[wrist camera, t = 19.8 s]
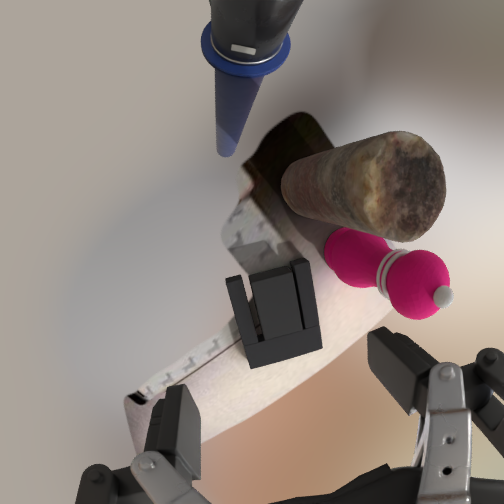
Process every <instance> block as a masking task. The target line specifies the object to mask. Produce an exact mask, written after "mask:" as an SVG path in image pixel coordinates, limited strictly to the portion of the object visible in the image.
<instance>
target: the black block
mask: <svg viewBox="0 0 504 504" xmlns="http://www.w3.org/2000/svg"><path fill="white" fill-rule="evenodd" d="M248 277H249V281H250V285H251V289H252V293H253V297H254V302H255V306H256V310H257V314H258V318H259V322H260V326H261V330H262V333H263V336H264V339H265V340H269V339H272V338H276V337H279V336H283V335H287V334H290V333H294V332H297V331H300V330H303V328H302V323H301V317H300V311H299V306H298V300H297V295H296V289H295V284H294V279H293V274H292V271H291V270H290V269H289V268H288V267H287V266H284V267H280V268H276V269H272V270H269V271H265V272H261V273H257V274H253V275H249V276H248Z"/></svg>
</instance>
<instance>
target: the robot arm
mask: <svg viewBox="0 0 504 504" xmlns="http://www.w3.org/2000/svg"><path fill="white" fill-rule="evenodd" d="M209 2H210V6H211V45H212V48H213V50H214V51H215V53H216V54H217V55H218V56H219V57H221V58H222V59H223V60H225V61H227V62H229V63H232V64H235V65H240V66H257V65H261V64H264V63H266V62H269V61H270V60H272V59H273V58H274V57H275V56H276V55H277V54H278V53H279V51H280V49H281V47H282V43H283V41H284V38H285V37H286V35H287V33H288V30H289V28H290V26H291V24H292V22H293V20H294V18H295V16H296V14H297V12H298V10H299V8H300V6H301V4H302V2H303V0H209ZM367 341H368V343H367V345H368V364H369V367H370V369H371V371H372V372H373V373H374V375H375V376H376V377H377V378H378V379H379V381H380V382H381V383H382V384H383V385H384V387H385V388H386V389H387V390H388V391H389V393H390V394H391V395H392V396H393V397H394V399H395V400H396V401H397V402H398V403H399V405H400V406H401V407H402V408H403V409H404V411H405V412H406V413H407V414H408V415H409V416H410V415H411V414H413V413H415V412H417V411H418V412H419V414H420V418H419V425H418V432H417V439H416V446H415V451H414V456H413V459H412V463H411V466H407V467H398V468H393V469H390V467H389V466H388V464H387V463H386V464H384V465H382V466H380V467H378V468H376V469H373V470H371V471H369V472H367V473H364V474H362V475H360V476H358V477H357V478H355V479H354V480H352V481H351V482H349V483H348V484H346V485H344V486H343V487H341V488H340V489H338V490H336V491H335V492H333V493H330V494H324V495H316V496H305V497H295V498H292V499H287V500H284V501H279V502H274V503H270V504H504V480H494V479H484V478H475V477H470V474H471V457H472V421H473V422H474V423H475V425H476V426H477V427H478V428H479V429H480V430H481V431H482V433H483V434H484V435H485V436H486V437H487V438H488V440H489V441H490V442H491V443H492V444H493V445H494V447H495V448H496V449H497V450H498V451H499V453H500V454H501V455H502V456H503V458H504V405H503V404H502V403H501V402H500V401H499V400H498V399H497V398H496V397H495V396H494V395H493V392H495V393H496V394H497V395H499V396H500V397H501V398H502V399H503V400H504V353H503V352H501V351H500V350H498V349H495V348H485V349H483V350H481V351H480V352H479V353H478V354H477V357H476V361H475V362H473V363H470V364H468V365H465V366H461V367H459V366H458V365H457V364H455V363H452V362H442V363H439V362H438V361H437V360H436V359H434V358H433V357H432V356H431V355H430V354H428V353H427V352H426V351H425V350H424V349H422V348H421V347H419V345H417V344H416V343H414V341H413V340H411V339H410V338H409V337H408V336H406V335H403V334H400V333H397V332H396V333H394V334H393V333H392V332H391V331H389V330H388V329H387V328H386V327H384V326H383V327H380V328H378V329H376V330H373V331H371V332H369V333H368V335H367ZM149 424H150V426H149V428H148V433H147V438H146V443H145V448H144V452H143V453H141V454H139V455H137V456H136V457H135V458H134V459H133V461H132V463H131V466H129V467H126V468H121V469H118V470H113V471H111V470H110V469H109V468H108V467H107V466H105V465H103V464H94V465H91V466H90V467H88V468H87V469H86V470H85V471H84V472H83V474H82V477H81V481H80V485H79V489H78V493H77V498H76V502H75V504H211V503H210V502H209V501H208V500H207V499H206V498H205V497H203V496H202V495H201V494H200V493H199V492H198V491H197V490H196V489H194V488H193V487H192V480H200V479H201V447H200V446H201V417H200V413H199V410H198V408H197V406H196V404H195V402H194V400H193V398H192V396H191V394H190V392H189V390H188V388H187V386H186V385H185V384H181V385H175V386H169V387H167V391H166V396H165V399H159V400H158V402H157V403H156V404H155V406H154V407H153V410H152V414H151V419H150V423H149Z"/></svg>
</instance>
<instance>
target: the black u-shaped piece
mask: <svg viewBox="0 0 504 504" xmlns="http://www.w3.org/2000/svg"><path fill="white" fill-rule="evenodd" d="M290 265H291V270H292V274H293V279H294V284H295V289H296V295H297V300H298V306H299V311H300V317H301V323H302V328H303V330H300V331H297V332H294V333H290V334H287V335H283V336H279V337H276V338H272V339H269V340H265V339H264V336H263V334H260V335H257V334H256V330H255V327H254V323H253V319H252V315H251V311H250V307H249V304H248V300H247V296H246V292H245V288H244V284H243V280H242V277H241V275H237V276H233V277H229V278H226V285H227V289H228V293H229V296H230V300H231V303H232V307H233V311H234V314H235V318H236V321H237V325H238V328H239V332H240V335H241V338H242V342H243V345H244V349H245V352H246V355H247V359H248V362H249V365H250V369H253V368H257V367H261V366H265V365H269V364H272V363H276V362H280V361H283V360H287V359H290V358H294V357H297V356H300V355H303V354H307V353H310V352H313V351H316V350H319V349H322V348H323V347H322V339H321V332H320V325H319V318H318V312H317V305H316V299H315V293H314V286H313V280H312V275H311V269H310V263H309V261H308V260H307V259H305V258H302V259H298V260H294V261H290Z"/></svg>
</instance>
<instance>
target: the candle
mask: <svg viewBox="0 0 504 504" xmlns="http://www.w3.org/2000/svg"><path fill="white" fill-rule="evenodd" d="M281 191H282V195H283V198H284V200H285V201H286V203H287V204H288V206H289V207H290V208H291V209H292V210H293V211H294V212H295V213H297V214H298V215H300V216H303V217H307V218H311V219H315V220H319V221H323V222H327V223H332V224H335V225H339V226H343V227H347V228H350V229H354V230H357V231H361V232H365V233H369V234H372V235H375V236H378V237H381V238H385V239H389V240H392V241H397V242H402V243H403V242H411V241H414V240H416V239H418V238H420V237H421V236H422V235H423V234H424V233H425V232H427V231H428V230H429V229H430V228H431V227H432V225H433V224H434V222H435V221H436V219H437V218H438V216H439V213H440V212H441V210H442V208H443V206H444V202H445V197H446V182H445V174H444V171H443V165H442V163H441V160H440V157H439V155H438V154H437V153H436V152H435V151H434V150H433V148H432V147H431V146H430V145H429V144H428V143H427V142H426V141H424V139H423V138H422V137H420V136H418V135H415V134H412V133H409V132H405V131H393V132H387V133H383V134H380V135H377V136H373V137H370V138H367V139H363V140H360V141H356V142H353V143H349V144H346V145H344V146H341V147H336V148H334V149H331V150H328V151H325V152H321V153H318V154H315V155H311V156H308V157H305V158H303V159H300V160H297V161H295V162H293V163H292V164H290V166H289V167H288V168H287V169H286V171H285V173H284V174H283V176H282V179H281Z"/></svg>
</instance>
